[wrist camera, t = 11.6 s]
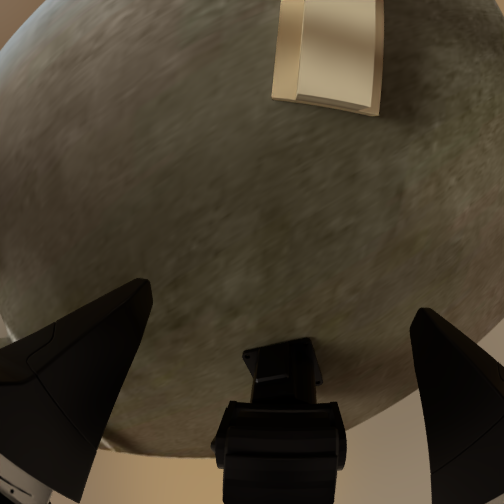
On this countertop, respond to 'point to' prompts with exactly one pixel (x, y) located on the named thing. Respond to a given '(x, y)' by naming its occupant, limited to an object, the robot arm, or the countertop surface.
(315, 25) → the ridge
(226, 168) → the countertop surface
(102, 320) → the robot arm
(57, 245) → the countertop surface
